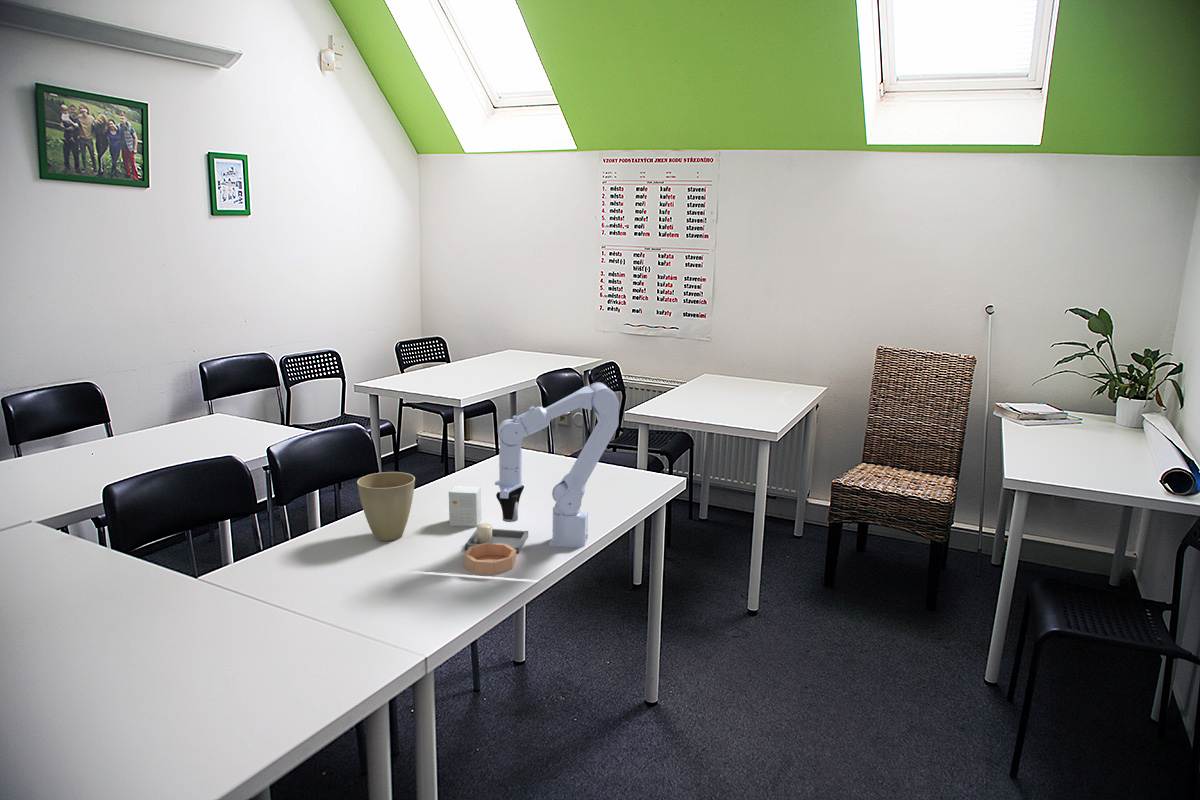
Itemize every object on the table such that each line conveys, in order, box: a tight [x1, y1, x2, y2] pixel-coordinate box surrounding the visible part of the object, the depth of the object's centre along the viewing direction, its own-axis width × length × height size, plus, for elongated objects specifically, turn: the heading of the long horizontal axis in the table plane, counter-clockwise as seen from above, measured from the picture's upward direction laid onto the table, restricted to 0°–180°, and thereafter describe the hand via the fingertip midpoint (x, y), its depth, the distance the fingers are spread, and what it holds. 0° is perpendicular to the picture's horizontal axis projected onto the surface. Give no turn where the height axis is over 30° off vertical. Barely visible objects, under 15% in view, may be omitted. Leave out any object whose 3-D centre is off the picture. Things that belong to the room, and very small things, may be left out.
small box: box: [448, 485, 483, 528], centre depth 219 cm, size 8×6×10 cm
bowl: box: [463, 542, 517, 577], centre depth 193 cm, size 12×12×4 cm
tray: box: [464, 528, 529, 555], centre depth 206 cm, size 14×12×2 cm
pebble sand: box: [476, 522, 493, 544], centre depth 206 cm, size 4×4×4 cm
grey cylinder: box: [502, 502, 519, 523], centre depth 204 cm, size 4×4×4 cm
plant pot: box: [356, 471, 416, 542], centre depth 209 cm, size 15×15×16 cm
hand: (510, 515), depth 204 cm, fingers closed on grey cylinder, 4 cm apart
